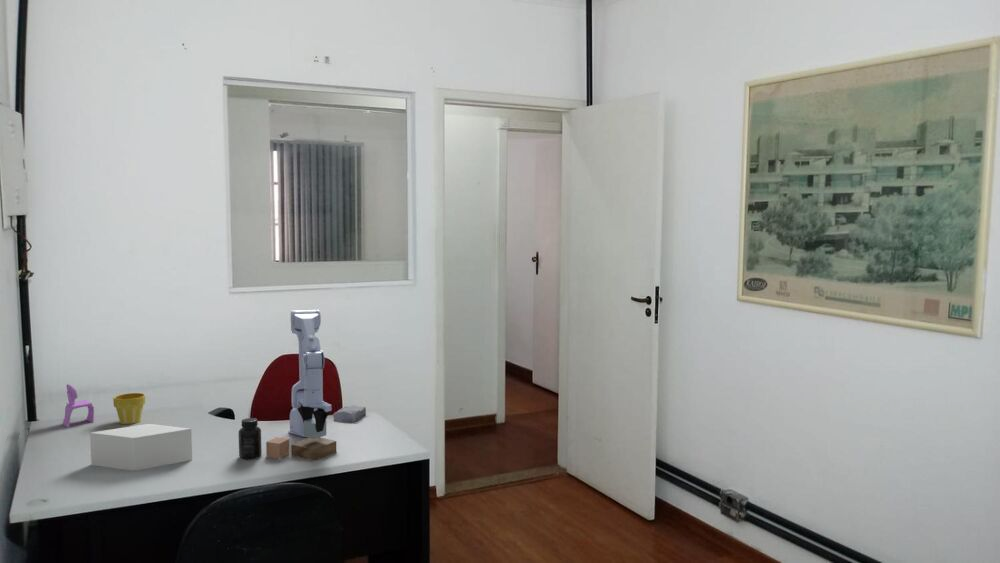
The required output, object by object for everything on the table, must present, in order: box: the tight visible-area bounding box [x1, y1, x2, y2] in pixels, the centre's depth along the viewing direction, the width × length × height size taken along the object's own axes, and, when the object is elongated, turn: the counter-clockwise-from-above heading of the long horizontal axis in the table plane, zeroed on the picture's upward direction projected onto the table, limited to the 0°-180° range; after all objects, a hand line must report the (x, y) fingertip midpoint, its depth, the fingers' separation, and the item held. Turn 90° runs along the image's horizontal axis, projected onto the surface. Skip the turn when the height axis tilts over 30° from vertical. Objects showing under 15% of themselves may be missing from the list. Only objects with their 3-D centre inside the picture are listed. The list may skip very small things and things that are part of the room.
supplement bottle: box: [238, 417, 263, 461], centre depth 222 cm, size 7×7×12 cm
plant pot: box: [112, 392, 146, 425], centre depth 257 cm, size 10×10×10 cm
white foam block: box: [89, 423, 193, 472], centre depth 215 cm, size 14×29×10 cm, turn 101°
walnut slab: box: [290, 437, 337, 462], centre depth 226 cm, size 10×10×4 cm
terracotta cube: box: [265, 436, 290, 460], centre depth 224 cm, size 5×5×5 cm
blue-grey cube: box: [304, 418, 327, 439], centre depth 226 cm, size 5×5×5 cm
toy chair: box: [61, 383, 95, 428], centre depth 254 cm, size 8×9×15 cm
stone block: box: [332, 405, 367, 423], centre depth 268 cm, size 12×5×10 cm
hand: (313, 429), depth 226 cm, fingers closed on blue-grey cube, 5 cm apart
